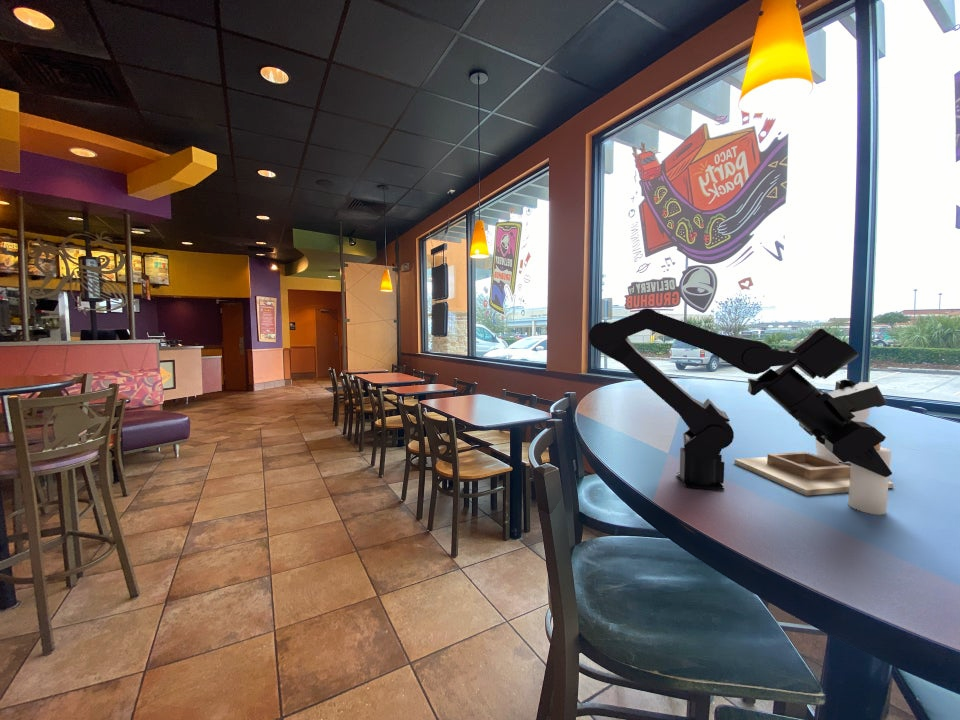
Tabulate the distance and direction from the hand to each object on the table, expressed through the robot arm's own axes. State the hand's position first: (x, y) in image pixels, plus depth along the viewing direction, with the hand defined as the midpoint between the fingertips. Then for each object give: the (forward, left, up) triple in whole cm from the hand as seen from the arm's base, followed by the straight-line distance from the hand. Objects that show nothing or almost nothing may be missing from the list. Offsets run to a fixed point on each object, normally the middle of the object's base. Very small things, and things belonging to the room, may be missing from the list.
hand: (881, 470), depth 61 cm
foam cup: (+10, +26, -7) cm, 29 cm away
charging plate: (-2, +14, -7) cm, 16 cm away
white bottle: (-1, 0, -7) cm, 7 cm away
